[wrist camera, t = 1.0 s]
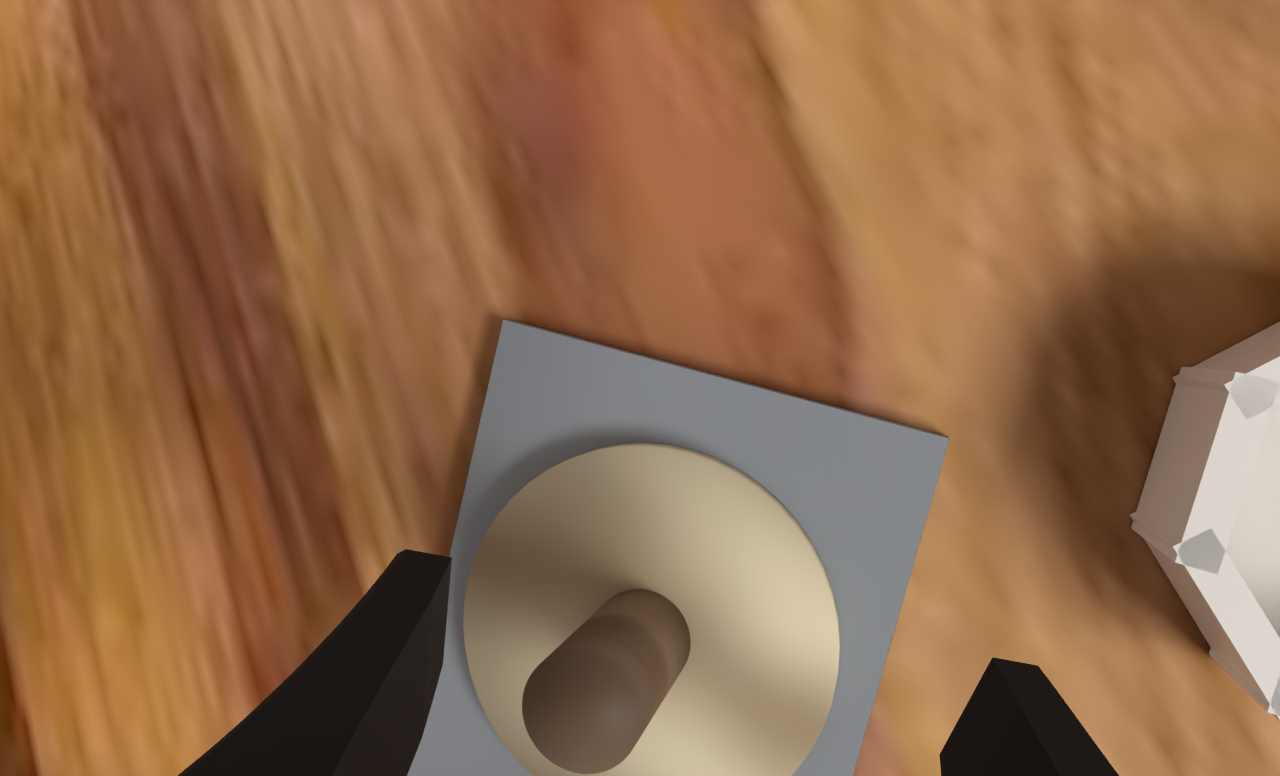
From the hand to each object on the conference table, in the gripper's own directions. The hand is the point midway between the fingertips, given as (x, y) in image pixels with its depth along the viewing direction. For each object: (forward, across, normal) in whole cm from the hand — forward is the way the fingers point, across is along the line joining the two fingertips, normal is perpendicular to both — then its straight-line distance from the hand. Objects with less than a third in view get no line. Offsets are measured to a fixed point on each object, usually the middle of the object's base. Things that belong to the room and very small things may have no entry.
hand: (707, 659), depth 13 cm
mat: (+10, 0, +10) cm, 14 cm away
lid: (+9, 0, +9) cm, 13 cm away
